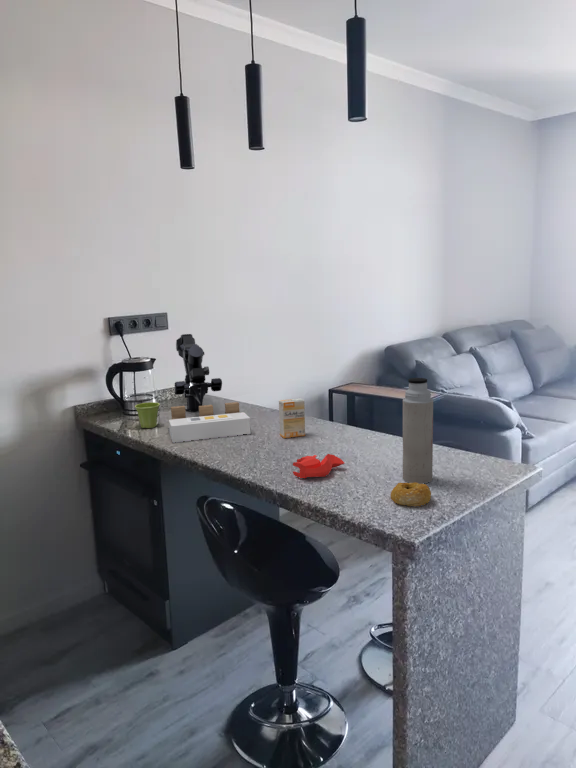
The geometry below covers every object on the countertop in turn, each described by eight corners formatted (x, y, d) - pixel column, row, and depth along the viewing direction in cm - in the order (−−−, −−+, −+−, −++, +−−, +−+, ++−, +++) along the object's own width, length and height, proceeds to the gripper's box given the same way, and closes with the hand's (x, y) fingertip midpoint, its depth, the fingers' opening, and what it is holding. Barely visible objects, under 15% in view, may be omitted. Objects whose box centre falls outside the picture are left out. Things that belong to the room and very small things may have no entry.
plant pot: (165, 426, 224) (163, 405, 222) (141, 431, 219) (139, 408, 217) (156, 422, 232) (154, 401, 230) (133, 426, 226) (131, 404, 225)
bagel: (431, 493, 148) (430, 475, 147) (431, 510, 138) (431, 491, 137) (391, 491, 150) (391, 474, 149) (389, 508, 140) (388, 490, 139)
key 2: (225, 423, 220) (224, 403, 219) (238, 422, 221) (237, 401, 220) (227, 425, 218) (226, 404, 216) (240, 423, 219) (239, 403, 218)
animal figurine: (350, 471, 167) (350, 455, 166) (312, 484, 157) (312, 466, 156) (322, 462, 176) (322, 446, 175) (285, 474, 166) (285, 457, 165)
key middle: (200, 426, 217) (198, 406, 215) (213, 425, 218) (211, 404, 217) (200, 428, 215) (199, 407, 213) (214, 426, 216) (212, 406, 214)
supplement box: (283, 439, 201) (282, 402, 199) (279, 435, 206) (278, 399, 203) (305, 436, 204) (304, 400, 201) (301, 432, 208) (300, 397, 206)
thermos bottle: (431, 474, 161) (432, 375, 156) (433, 484, 153) (434, 381, 148) (402, 473, 162) (402, 376, 157) (402, 483, 155) (402, 381, 150)
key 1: (172, 427, 217) (170, 407, 216) (185, 426, 218) (184, 405, 217) (173, 429, 215) (171, 408, 213) (186, 427, 216) (185, 407, 215)
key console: (168, 430, 218) (166, 413, 217) (240, 422, 226) (239, 406, 225) (172, 442, 201) (171, 424, 200) (250, 434, 209) (249, 416, 208)
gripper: (173, 361, 226) (177, 394, 218) (219, 358, 232) (226, 390, 223) (172, 378, 235) (177, 410, 227) (217, 374, 240) (224, 405, 232)
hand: (201, 403), depth 227 cm, fingers closed
